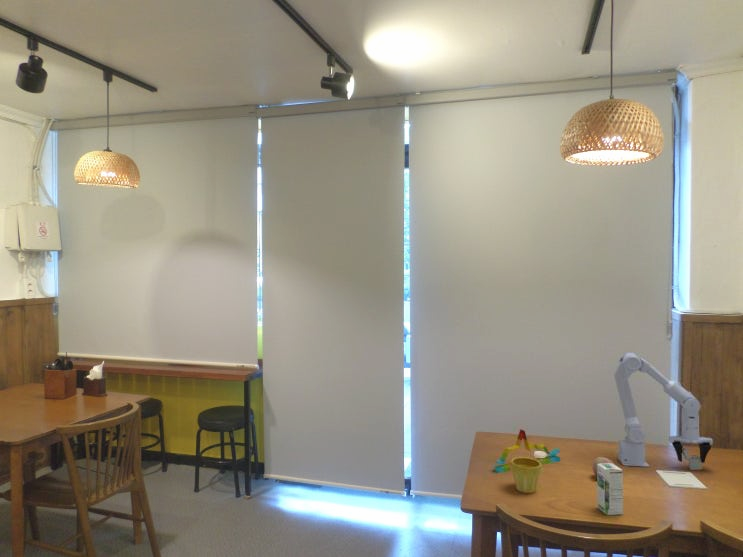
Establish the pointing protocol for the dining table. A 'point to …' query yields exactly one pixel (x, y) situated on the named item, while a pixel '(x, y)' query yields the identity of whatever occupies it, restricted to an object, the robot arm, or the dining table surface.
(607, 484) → the syrup box
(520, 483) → the plant pot
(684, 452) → the lighter
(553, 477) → the dining table surface
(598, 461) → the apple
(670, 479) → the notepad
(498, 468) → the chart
